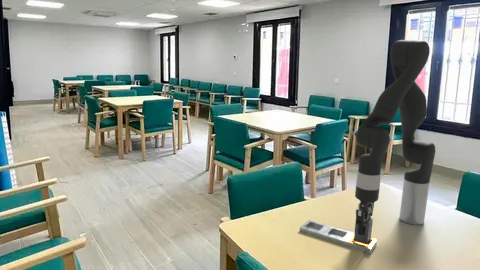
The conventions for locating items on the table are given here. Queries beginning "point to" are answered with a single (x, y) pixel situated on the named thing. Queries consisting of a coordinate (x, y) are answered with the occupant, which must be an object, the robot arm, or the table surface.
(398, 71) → the robot arm
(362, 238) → the dark gray block
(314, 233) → the white slotted tray
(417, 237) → the table surface
